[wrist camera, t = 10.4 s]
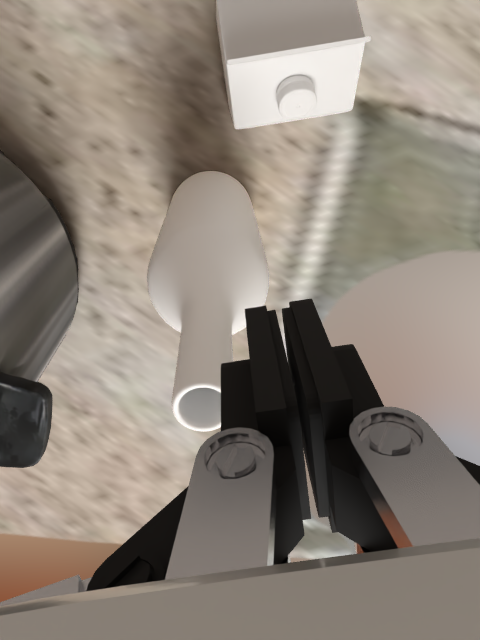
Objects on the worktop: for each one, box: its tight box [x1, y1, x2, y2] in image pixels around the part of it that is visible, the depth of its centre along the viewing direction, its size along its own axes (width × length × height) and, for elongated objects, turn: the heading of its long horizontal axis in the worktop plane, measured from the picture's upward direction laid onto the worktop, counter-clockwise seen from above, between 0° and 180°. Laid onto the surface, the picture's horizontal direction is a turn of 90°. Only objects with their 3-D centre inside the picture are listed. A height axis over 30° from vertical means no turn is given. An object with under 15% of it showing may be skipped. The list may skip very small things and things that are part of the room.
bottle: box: [147, 171, 269, 431], centre depth 32 cm, size 8×8×30 cm
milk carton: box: [216, 0, 371, 129], centre depth 31 cm, size 7×7×19 cm
